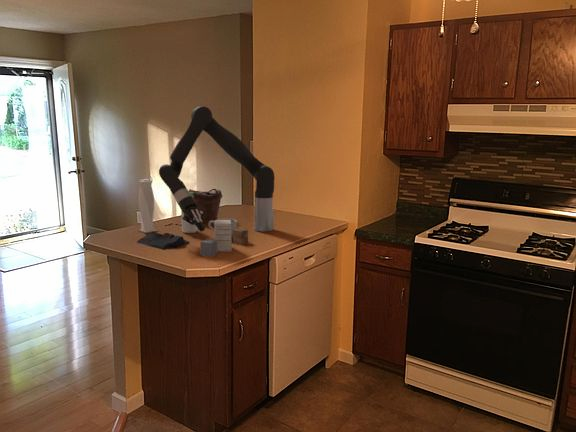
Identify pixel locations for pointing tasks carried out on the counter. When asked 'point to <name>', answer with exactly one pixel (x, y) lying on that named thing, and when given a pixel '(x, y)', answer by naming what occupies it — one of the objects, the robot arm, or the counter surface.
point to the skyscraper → (146, 205)
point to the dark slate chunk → (163, 241)
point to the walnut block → (240, 236)
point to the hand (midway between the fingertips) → (203, 230)
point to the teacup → (233, 225)
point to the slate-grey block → (208, 247)
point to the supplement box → (223, 235)
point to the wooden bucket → (208, 203)
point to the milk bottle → (188, 224)
